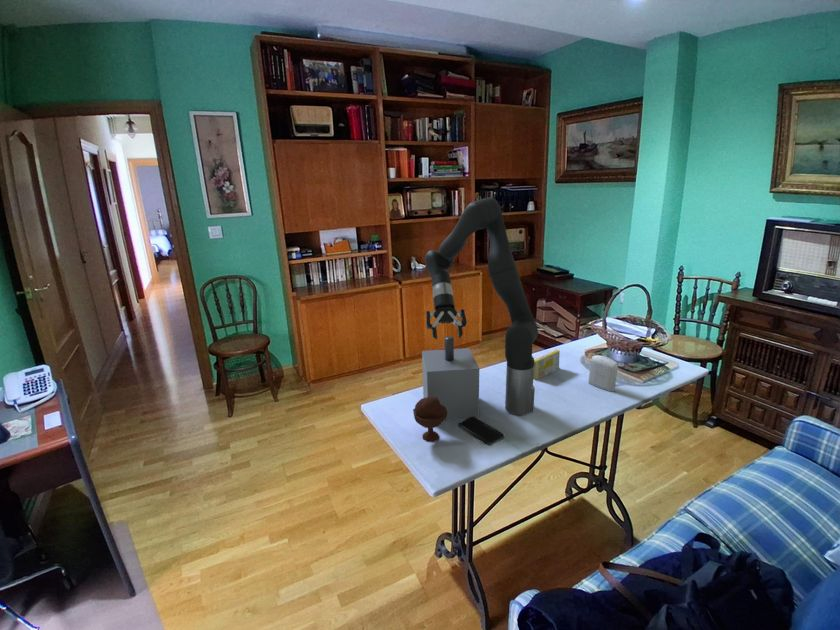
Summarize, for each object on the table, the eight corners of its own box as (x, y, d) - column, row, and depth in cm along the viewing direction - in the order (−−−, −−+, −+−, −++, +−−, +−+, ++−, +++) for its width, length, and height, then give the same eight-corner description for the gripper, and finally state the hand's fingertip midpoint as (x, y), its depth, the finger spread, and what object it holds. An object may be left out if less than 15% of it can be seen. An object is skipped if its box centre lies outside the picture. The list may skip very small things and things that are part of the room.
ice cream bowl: (453, 432, 143) (452, 391, 138) (436, 450, 134) (436, 408, 129) (425, 424, 148) (423, 384, 144) (407, 441, 139) (405, 399, 134)
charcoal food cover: (468, 393, 168) (469, 327, 159) (478, 417, 151) (479, 346, 143) (423, 396, 167) (421, 330, 158) (428, 421, 150) (426, 349, 141)
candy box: (555, 367, 188) (556, 349, 185) (559, 368, 186) (560, 350, 183) (531, 378, 178) (532, 360, 176) (535, 380, 177) (536, 361, 174)
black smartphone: (488, 444, 135) (456, 423, 147) (488, 447, 136) (456, 426, 147) (506, 435, 140) (473, 415, 151) (505, 438, 140) (473, 418, 151)
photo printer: (617, 389, 168) (620, 359, 164) (611, 392, 165) (614, 363, 161) (592, 380, 175) (595, 351, 171) (586, 383, 173) (589, 354, 169)
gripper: (424, 293, 157) (428, 334, 150) (463, 291, 158) (469, 332, 151) (423, 303, 163) (427, 343, 156) (461, 301, 165) (466, 340, 157)
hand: (448, 337), depth 153 cm, fingers open, 8 cm apart
